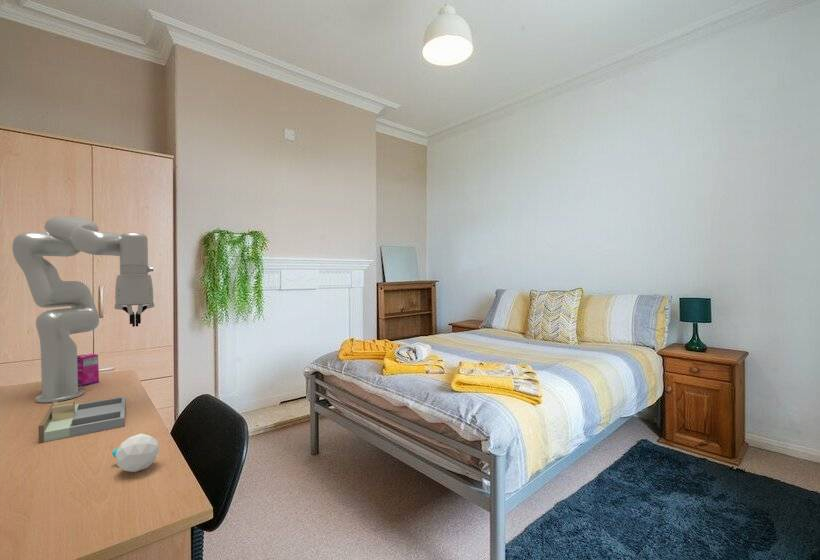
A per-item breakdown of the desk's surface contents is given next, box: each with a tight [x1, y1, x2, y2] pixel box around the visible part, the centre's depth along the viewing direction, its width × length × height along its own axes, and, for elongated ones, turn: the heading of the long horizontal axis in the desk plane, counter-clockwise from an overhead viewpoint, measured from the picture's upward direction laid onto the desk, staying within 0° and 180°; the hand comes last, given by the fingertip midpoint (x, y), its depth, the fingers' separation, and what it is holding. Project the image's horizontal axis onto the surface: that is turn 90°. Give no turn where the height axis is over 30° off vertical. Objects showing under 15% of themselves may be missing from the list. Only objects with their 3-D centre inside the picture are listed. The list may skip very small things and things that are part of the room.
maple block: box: [52, 399, 76, 422], centre depth 110 cm, size 4×4×4 cm
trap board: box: [38, 396, 127, 444], centre depth 114 cm, size 23×18×4 cm
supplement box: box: [77, 352, 100, 387], centre depth 151 cm, size 6×6×12 cm
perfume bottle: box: [111, 432, 160, 473], centre depth 87 cm, size 8×8×12 cm
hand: (135, 326), depth 125 cm, fingers closed
